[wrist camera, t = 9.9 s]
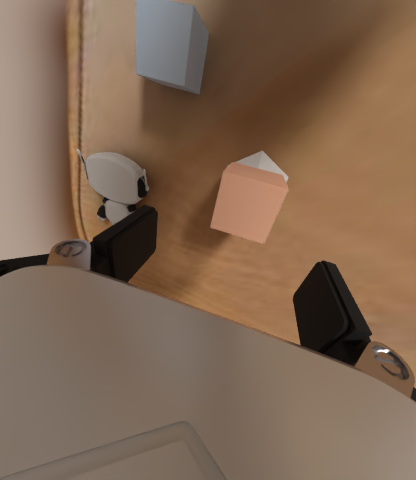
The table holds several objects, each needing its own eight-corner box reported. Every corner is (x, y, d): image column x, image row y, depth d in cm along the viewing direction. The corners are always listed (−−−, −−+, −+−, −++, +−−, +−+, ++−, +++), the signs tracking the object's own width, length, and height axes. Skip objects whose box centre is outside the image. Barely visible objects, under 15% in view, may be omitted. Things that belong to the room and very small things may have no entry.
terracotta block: (232, 161, 22) (223, 171, 17) (282, 174, 21) (288, 189, 16) (220, 207, 25) (210, 227, 20) (263, 220, 24) (263, 244, 19)
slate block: (163, 22, 23) (135, -8, 18) (209, 33, 22) (193, 5, 17) (160, 84, 26) (135, 73, 21) (199, 94, 26) (184, 86, 21)
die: (221, 197, 33) (241, 239, 27) (209, 154, 26) (232, 199, 20) (265, 179, 32) (294, 218, 27) (264, 130, 25) (304, 170, 20)
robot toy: (155, 230, 41) (156, 160, 32) (144, 241, 37) (142, 167, 28) (105, 213, 42) (93, 141, 33) (90, 223, 38) (71, 145, 29)
